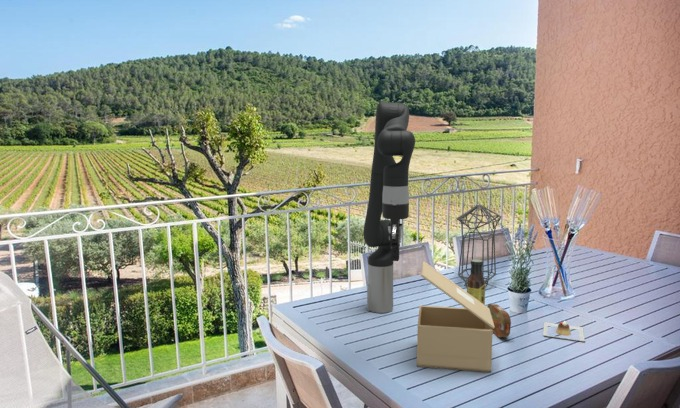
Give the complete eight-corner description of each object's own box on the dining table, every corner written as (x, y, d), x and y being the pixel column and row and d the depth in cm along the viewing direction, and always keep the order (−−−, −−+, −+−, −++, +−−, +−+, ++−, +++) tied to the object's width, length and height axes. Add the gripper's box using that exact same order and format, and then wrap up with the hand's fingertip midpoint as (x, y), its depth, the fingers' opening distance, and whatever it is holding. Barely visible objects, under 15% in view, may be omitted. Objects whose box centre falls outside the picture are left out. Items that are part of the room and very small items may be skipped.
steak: (484, 323, 173) (485, 300, 171) (493, 323, 173) (494, 299, 172) (502, 342, 158) (503, 316, 157) (511, 341, 158) (513, 315, 157)
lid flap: (420, 275, 138) (422, 274, 138) (422, 262, 153) (423, 260, 153) (493, 328, 137) (494, 327, 137) (488, 309, 151) (489, 308, 151)
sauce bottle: (484, 318, 177) (487, 263, 174) (466, 317, 178) (468, 262, 176) (483, 312, 184) (485, 258, 181) (465, 311, 185) (467, 258, 182)
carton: (416, 367, 141) (417, 326, 139) (418, 342, 158) (419, 305, 156) (491, 373, 138) (492, 331, 136) (485, 347, 154) (486, 309, 152)
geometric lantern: (499, 283, 218) (503, 203, 212) (489, 294, 205) (492, 209, 199) (464, 277, 226) (466, 200, 220) (451, 287, 213) (454, 205, 207)
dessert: (543, 325, 172) (544, 311, 172) (582, 330, 168) (583, 316, 167) (543, 338, 161) (543, 324, 161) (584, 344, 157) (585, 329, 156)
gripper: (384, 198, 151) (384, 254, 154) (380, 204, 139) (379, 265, 141) (410, 198, 150) (409, 255, 153) (407, 204, 137) (407, 267, 140)
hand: (395, 260), depth 147 cm, fingers closed
